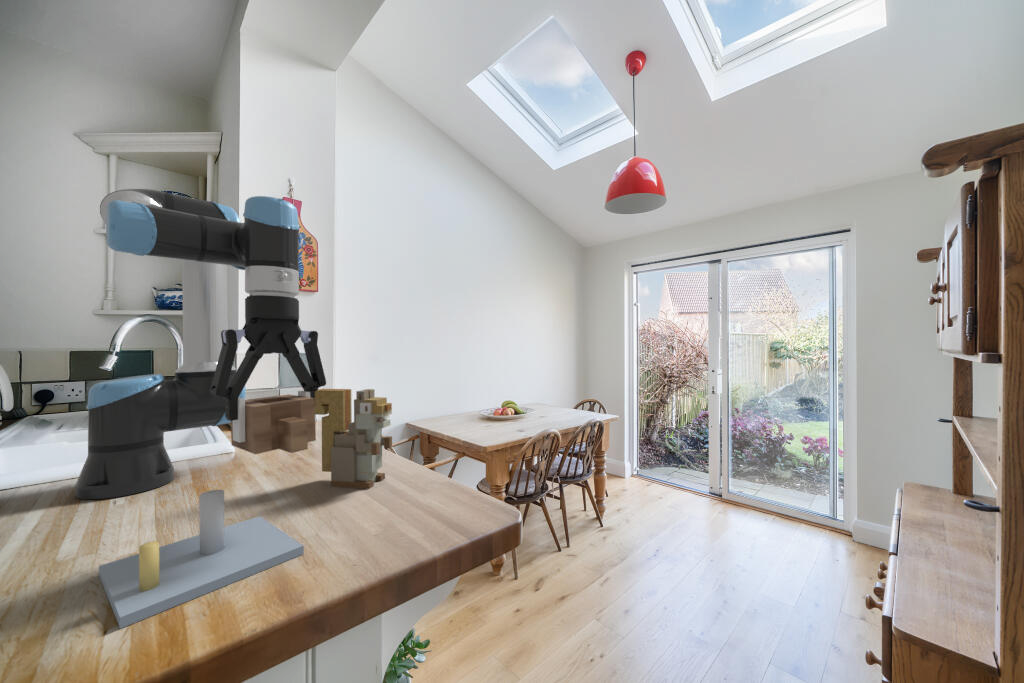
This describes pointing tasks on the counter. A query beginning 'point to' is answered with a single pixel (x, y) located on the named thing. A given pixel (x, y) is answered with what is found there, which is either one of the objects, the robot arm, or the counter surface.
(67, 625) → the counter surface
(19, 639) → the counter surface
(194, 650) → the counter surface
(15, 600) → the counter surface
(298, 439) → the tabbed square frame
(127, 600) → the post board
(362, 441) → the toy
